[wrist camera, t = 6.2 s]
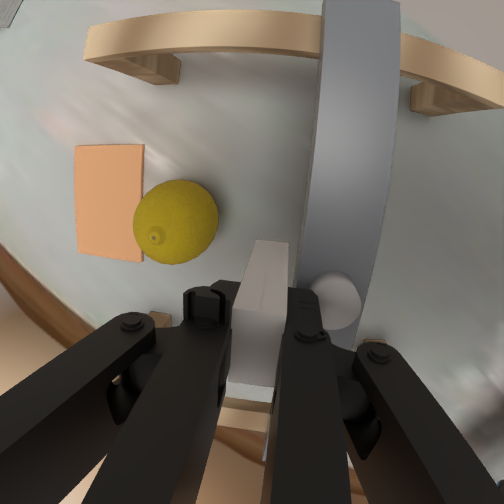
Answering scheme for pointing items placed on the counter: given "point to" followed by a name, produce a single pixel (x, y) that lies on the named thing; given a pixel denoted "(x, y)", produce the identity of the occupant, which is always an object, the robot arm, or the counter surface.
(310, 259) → the bar
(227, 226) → the counter surface
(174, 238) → the lemon
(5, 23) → the skincare box
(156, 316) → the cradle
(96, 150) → the pad
